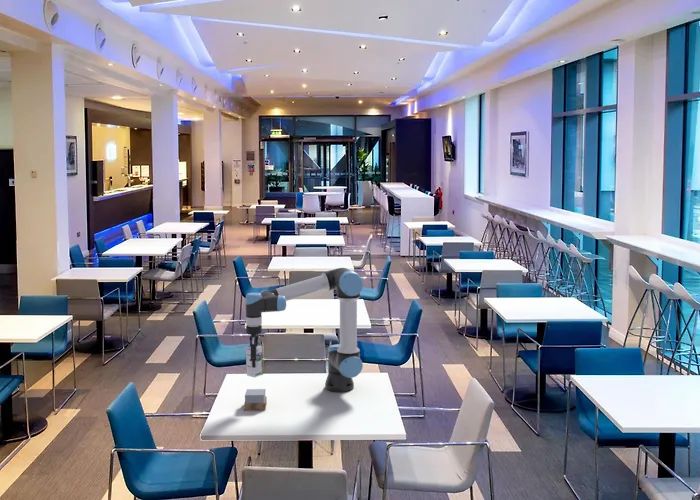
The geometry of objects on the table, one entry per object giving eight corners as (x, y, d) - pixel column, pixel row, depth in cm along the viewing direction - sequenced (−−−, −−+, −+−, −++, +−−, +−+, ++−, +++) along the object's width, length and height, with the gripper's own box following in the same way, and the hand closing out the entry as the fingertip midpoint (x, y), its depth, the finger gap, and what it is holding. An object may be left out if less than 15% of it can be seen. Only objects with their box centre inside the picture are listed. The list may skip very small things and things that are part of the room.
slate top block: (265, 396, 370) (265, 389, 369) (263, 403, 361) (263, 395, 360) (247, 397, 369) (246, 389, 369) (245, 403, 360) (244, 395, 360)
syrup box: (255, 377, 359) (254, 348, 357) (246, 375, 363) (245, 346, 361) (263, 374, 364) (262, 345, 362) (254, 372, 367) (254, 344, 365)
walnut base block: (266, 404, 371) (266, 396, 370) (265, 411, 361) (265, 403, 360) (246, 404, 370) (246, 396, 370) (244, 411, 360) (244, 403, 360)
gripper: (247, 320, 370) (248, 364, 373) (244, 330, 350) (245, 377, 353) (263, 320, 370) (263, 364, 373) (260, 330, 350) (261, 377, 353)
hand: (254, 370), depth 363 cm, fingers closed on syrup box, 8 cm apart
